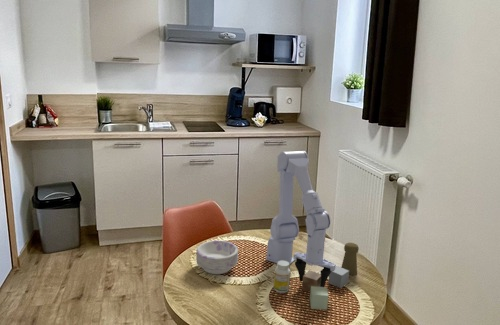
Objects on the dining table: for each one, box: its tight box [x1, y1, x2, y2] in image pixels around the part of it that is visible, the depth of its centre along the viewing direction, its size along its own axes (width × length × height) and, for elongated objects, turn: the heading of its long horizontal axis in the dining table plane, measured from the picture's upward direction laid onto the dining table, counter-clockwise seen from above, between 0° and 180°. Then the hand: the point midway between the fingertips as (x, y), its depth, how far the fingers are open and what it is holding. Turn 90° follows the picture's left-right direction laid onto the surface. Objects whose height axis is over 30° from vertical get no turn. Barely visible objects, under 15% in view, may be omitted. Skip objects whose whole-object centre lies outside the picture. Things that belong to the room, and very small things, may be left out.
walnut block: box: [301, 269, 321, 293], centre depth 141 cm, size 5×5×5 cm
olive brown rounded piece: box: [340, 242, 359, 276], centre depth 153 cm, size 6×6×11 cm
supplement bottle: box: [273, 260, 292, 294], centre depth 139 cm, size 5×5×10 cm
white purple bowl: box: [195, 240, 239, 275], centre depth 151 cm, size 15×15×8 cm
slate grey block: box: [327, 265, 350, 289], centre depth 145 cm, size 5×5×5 cm
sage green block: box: [309, 286, 329, 311], centre depth 131 cm, size 5×5×5 cm
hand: (312, 283), depth 141 cm, fingers open, 7 cm apart
